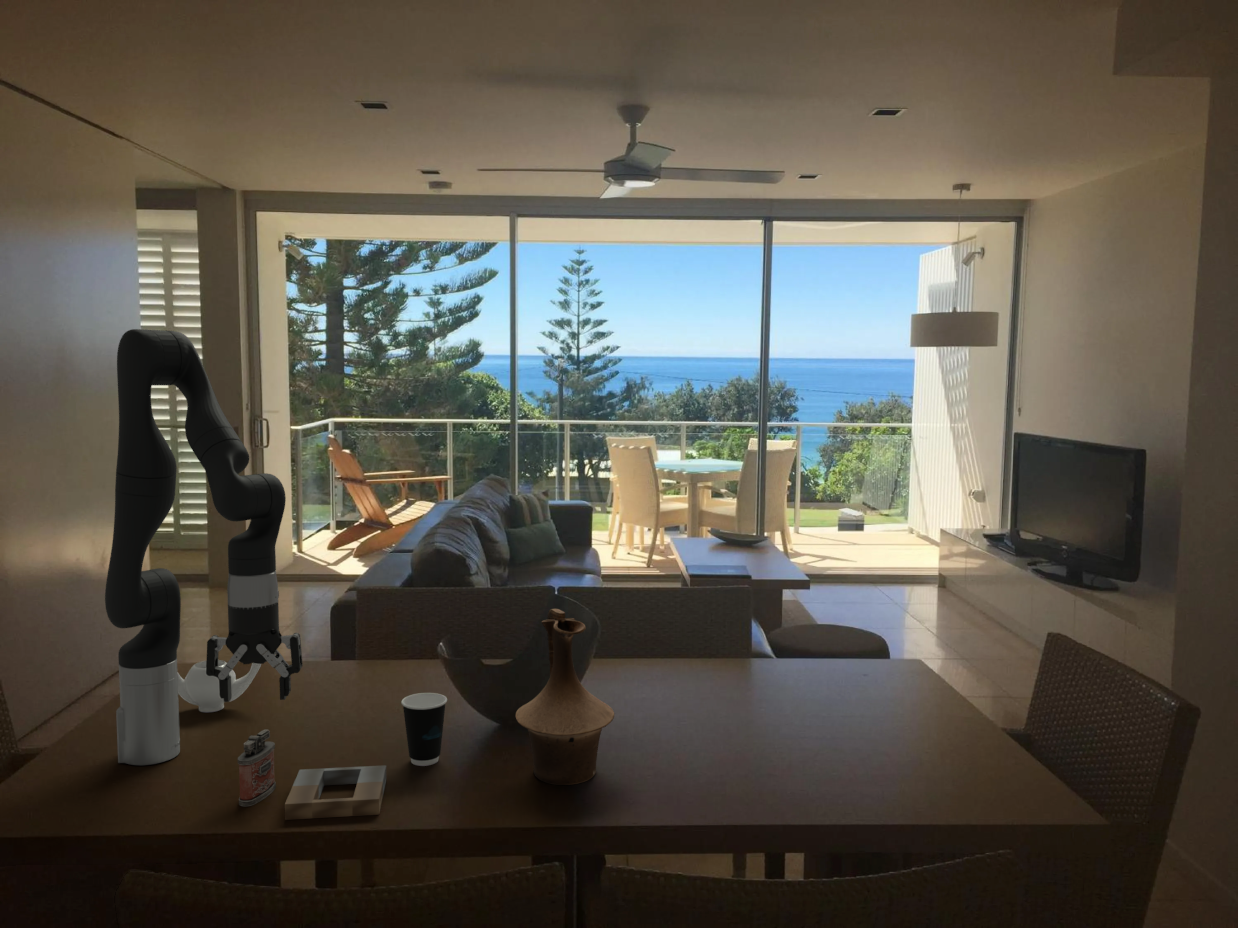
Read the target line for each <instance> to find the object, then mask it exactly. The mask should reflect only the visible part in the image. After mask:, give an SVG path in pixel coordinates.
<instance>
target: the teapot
mask: <svg viewBox="0 0 1238 928" xmlns="http://www.w3.org/2000/svg"><path fill="white" fill-rule="evenodd" d="M206 661H207V660H202V661H198V662H197V663H194V664H193V665H192V666H191V668H190V669H189V670H188V672H187V674H186V676H185V678H183V677H182V676H181V675H180V673H179V672H178V671H177V674H178V696H180V697H181V698H182V699H183V700H184V701H185V702H187V703H189V704H191V705H193V706H198V711H199V712H201V713H214V712H218V711H221V710H223V709H224V708H225V702H224V698H221V697H220V691H219V690H220V689H219V679H218V678H217V677H215V676H208V675H207V674H206ZM227 663H228V662H226V661H225V660H222V659H218V666H219V667H222V668H224V667H225V665H226V664H227ZM261 666H262V664H257V663H251V666H250V669H249V671H248V672H247V674H245V675H243V676H242V677H240V678H237V677H236V676H237V675H236V673H235V671H234V670H233V669H232V670H231V672H230V673H229V676H231V691H232V697H231V700H230V701H229V702H232V701H235V700H236V699H238V698H239V697H240V696H242V694H243V693H245V691H246V690H247V689H248V688H249V686H250V685H251V683H252V682H253V680H254V679H255V677H256V676H257V674H258V672H259V671H260V669H261Z"/></svg>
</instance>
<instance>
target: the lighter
mask: <svg viewBox="0 0 1238 928" xmlns="http://www.w3.org/2000/svg"><path fill="white" fill-rule="evenodd" d="M270 732H271V731H270V730H269V729H267V728H266V729H262V730H261V731H259V732H258V733H257V734H256V735H249V737H248V739H247V740H246V741H245V742H244V743H243V752H242V753H241V754H240V755H239V756H238V757H237V764H238V768H239V769H238V771H239V773H238V775H239V798H238V805H239V806H241V807H251V806H254V805H256V804H258V803H260V802H261V801H263V800H264V799H266V798H268V797H269V795H270V794H272V793H273V792H274V791H275V789H276V788H277V784H276V783H277V782H276V781H275V755H274V754H275V748H276V743H275V742H274V741H268V739H269V738H270V737H271V733H270ZM266 740H267V741H266Z"/></svg>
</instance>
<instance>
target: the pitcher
mask: <svg viewBox="0 0 1238 928" xmlns="http://www.w3.org/2000/svg"><path fill="white" fill-rule="evenodd" d="M541 624H542V626H543V627H544V629H545V630H546V633H547V647H548V660H549V678H548V680H547V682H546V684H545V686H544V687H543V688H542V689H541V691H539V693H538V694H537V695H536V696H535V697H534V698H533V699H531V700H530V701H529V702H527V703H525V704H523V705H522V706H520V707H519V708H518V709H517V710H516V712H515V718H516V721H517V723H518V724H519V725H521V726H522V727H523V728H525V729H527V732H528V737H529V740H530V741H529V742H530V746H531V754H532V760H533V775H534V776H535V777H536V778H537V779H538V780H539V781H541V782H544V783H547V784H552V785H557V786H558V785H559V786H567V785H568V786H570V785H572V786H573V785H577V784H581V783H584V782H587V781H589V780H591V779H592V778H593V777H594V776H595V775H596V773H597V760H598V751H599V744H600V738H601V733H602V730H603V729H604V728H606V727H608V726H609V725H610V724H611V723H612V722H613V720H614V719H615V712H614V709H613V708H612V707H611V706H609V704H608V703H605V702H604V701H602V700H601V699H599V698H597V696H595V695H593V694H592V693H591V692H589V690H587V689H586V688H585V687H584V686H583V685H582V683H581V682H580V680H579V678H578V676H577V672H576V670H575V666H574V660H573V639H574V638H573V637H574V636H576V635H579V634H582V633H584V631H585V630H586V628H587V627H586V625H585V623H583V622H581V621H579V620H576V619H575V618H572V617H567V618H566V612H565V611H563V610H561V609H559V608H551V609H549V610H548V613H547V619H544V620H542V621H541Z"/></svg>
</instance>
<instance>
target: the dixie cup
mask: <svg viewBox="0 0 1238 928" xmlns="http://www.w3.org/2000/svg"><path fill="white" fill-rule="evenodd" d="M447 702H448V698H447V696H446V695H443V694H441V693H437V692H419V693H413V694H410V695H407V696H405V697H404V698H402V700H401V706H402V708H403V716H404V723H405V724H404V725H405V732H406V733H405V734H406V740H407V741H406V742H407V750H408V757H409V758H410V763H411V764H413V765H415V766H420V767H425V766H426V767H427V766H431V765H434V764H437V763H438V762H439V758H440V755H441V753H442V752H441V751H442V741H443V734H444V733H443V731H444V722H445V713H446V712H445V711H446V703H447Z"/></svg>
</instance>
